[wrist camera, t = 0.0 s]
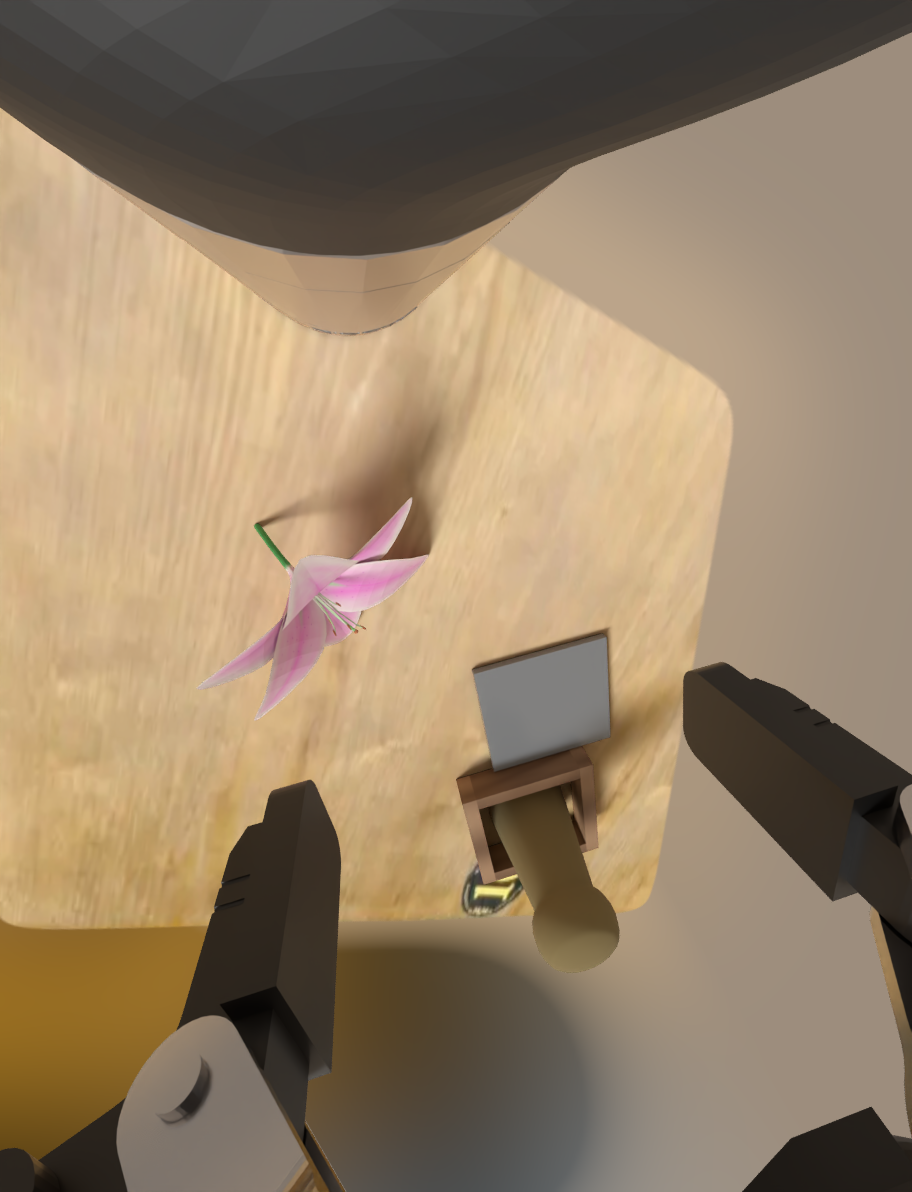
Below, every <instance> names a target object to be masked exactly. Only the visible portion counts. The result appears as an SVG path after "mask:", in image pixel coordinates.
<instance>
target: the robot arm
mask: <svg viewBox="0 0 912 1192" xmlns="http://www.w3.org/2000/svg"><path fill="white" fill-rule="evenodd" d="M911 32H912V0H0V108H2V109H3V110H4V111H6V112H7V113H9V114H10V115H11V116H13V117H14V118H15V119H17V120H18V121H19V122H21V123H22V124H24V125H25V126H26V127H28V128H29V129H30V130H32V131H33V132H35V133H36V134H37V135H39V136H40V137H41V138H43V139H44V140H46V141H47V142H49V143H50V144H52V145H53V146H55V147H56V148H58V149H59V150H61V151H62V152H64V153H65V154H67V155H68V156H70V157H71V158H72V159H74V160H75V161H76V162H78V163H79V164H80V165H81V166H83V167H84V168H85V169H87V170H88V171H89V172H91V173H92V174H93V175H95V176H96V177H97V178H99V179H100V180H101V181H103V182H104V183H106V184H107V185H108V186H110V187H111V188H112V189H114V190H115V191H116V192H118V193H119V194H121V195H122V196H123V197H125V198H126V199H127V200H129V201H130V202H131V203H133V204H134V205H135V206H137V207H138V208H140V209H141V210H142V211H144V212H145V213H146V214H148V215H149V216H150V217H152V218H153V219H155V220H156V221H157V222H159V223H160V224H161V225H163V226H164V227H165V228H167V229H168V230H170V231H171V232H172V233H174V234H175V235H176V236H178V237H179V238H181V239H182V240H184V241H186V242H187V243H188V244H190V245H191V246H192V247H194V248H195V249H196V250H198V251H199V252H200V253H202V254H203V255H204V256H206V257H207V258H208V259H210V260H211V261H213V262H214V263H215V264H217V265H218V266H219V267H221V268H222V269H223V270H225V271H226V272H227V273H229V274H230V275H231V276H233V277H234V278H235V279H237V280H238V281H239V282H241V283H242V284H243V285H245V286H246V287H247V288H249V289H250V290H251V291H253V292H254V293H255V294H257V295H258V296H259V297H260V298H262V299H263V300H264V301H266V302H267V303H269V304H270V305H271V306H273V307H274V308H275V309H277V310H278V311H280V312H282V313H283V314H285V315H286V316H288V317H289V318H291V319H292V320H294V321H296V322H297V323H299V324H301V325H304V326H306V327H309V328H311V329H313V330H316V331H319V332H322V333H328V334H335V335H341V336H351V335H363V334H369V333H372V332H375V331H379V330H381V329H384V328H387V327H389V326H391V325H393V324H395V323H396V322H398V321H400V320H402V319H403V318H404V317H406V316H407V315H408V314H410V313H411V312H412V311H414V310H415V309H416V308H417V306H418V305H419V304H420V303H421V302H422V301H423V300H424V299H425V298H427V297H428V296H429V295H430V294H431V293H432V292H433V291H434V290H435V289H437V288H438V287H439V286H440V285H441V284H442V283H443V282H444V281H445V280H446V279H448V278H449V277H450V276H451V275H452V274H453V273H454V272H455V271H456V270H458V269H459V268H460V267H461V266H462V265H463V264H464V263H465V262H466V261H468V260H469V259H470V258H471V257H472V256H473V255H474V254H475V253H476V252H478V251H479V250H480V249H481V248H482V247H483V246H484V245H485V244H486V243H488V242H489V241H490V240H491V239H492V238H493V237H494V236H495V235H496V234H497V233H499V232H500V231H501V230H502V229H503V228H504V227H505V226H506V225H507V224H509V223H510V221H511V220H512V219H513V218H515V216H517V215H518V214H519V213H520V212H521V211H522V210H523V209H524V208H526V207H527V206H528V205H529V204H530V203H531V202H532V201H533V200H534V199H535V198H537V197H538V196H539V195H540V194H541V193H542V192H543V191H544V190H545V189H547V188H548V187H549V186H550V185H551V184H552V183H553V182H554V181H555V180H557V179H558V178H559V177H560V176H561V175H562V174H563V173H564V172H566V171H567V170H568V169H569V168H571V167H573V166H575V165H578V164H580V163H583V162H585V161H588V160H591V159H593V158H596V157H598V156H601V155H604V154H607V153H610V152H612V151H615V150H618V149H621V148H624V147H626V146H629V145H632V144H635V143H638V142H641V141H644V140H646V139H649V138H652V137H655V136H658V135H661V134H663V133H666V132H669V131H672V130H674V129H678V128H680V127H683V126H686V125H689V124H692V123H695V122H697V121H700V120H703V119H705V118H708V117H710V116H713V115H716V114H718V113H721V112H724V111H726V110H729V109H732V108H734V107H737V106H740V105H742V104H745V103H747V102H750V101H753V100H755V99H758V98H761V97H763V96H766V95H768V94H771V93H773V92H775V91H778V90H780V89H783V88H785V87H788V86H790V85H792V84H795V83H797V82H800V81H802V80H804V79H807V78H809V77H812V76H814V75H817V74H819V73H821V72H823V71H826V70H828V69H831V68H833V67H835V66H838V65H840V64H843V63H845V62H847V61H850V60H852V59H854V58H856V57H858V56H861V55H863V54H865V53H867V52H869V51H872V50H874V49H876V48H878V47H880V46H882V45H885V44H887V43H889V42H891V41H893V40H895V39H898V38H900V37H902V36H904V35H906V34H909V33H911ZM683 730H684V734H685V737H686V740H687V743H688V745H689V747H690V749H691V750H692V752H693V753H694V755H695V756H696V757H697V758H698V759H699V760H700V761H701V763H702V764H703V765H704V766H705V767H706V768H707V769H708V770H709V771H710V772H711V773H712V774H713V775H714V776H715V777H716V778H717V779H718V781H719V782H720V783H721V784H722V785H723V786H724V787H725V788H726V789H727V790H728V791H729V792H730V793H731V794H732V795H733V796H734V797H735V798H736V800H737V801H738V802H739V803H740V804H741V805H742V806H743V807H744V808H745V809H746V810H747V811H748V812H749V813H750V814H751V815H752V817H753V818H754V819H755V820H756V821H757V822H758V823H759V824H760V825H761V826H762V827H763V828H764V829H765V830H766V831H767V832H768V833H769V835H770V836H771V837H772V838H773V839H774V840H775V841H776V842H777V843H778V844H779V845H780V846H781V847H782V848H783V849H784V850H785V851H786V853H787V854H788V855H789V856H790V857H792V859H793V860H794V861H795V862H796V863H797V864H798V865H799V866H800V867H801V868H802V870H803V871H804V872H805V873H806V874H807V875H808V876H809V877H810V878H811V879H812V880H813V881H814V882H815V883H816V884H817V885H818V886H819V887H820V889H821V890H822V891H823V892H824V893H826V895H827V896H828V897H829V898H830V899H831V900H832V901H835V900H838V899H841V898H843V897H847V896H849V895H852V894H855V893H859V894H860V895H861V896H862V897H863V898H864V899H865V900H866V901H867V902H868V903H869V904H870V905H871V907H870V914H869V915H870V922H871V926H872V930H873V934H874V937H875V941H876V945H877V949H878V953H879V957H880V961H881V965H882V969H883V973H884V976H885V981H886V985H887V989H888V993H889V997H890V1000H891V1004H892V1008H893V1012H894V1016H895V1020H896V1024H897V1028H898V1032H899V1036H900V1040H901V1044H902V1050H903V1056H904V1066H905V1067H904V1069H905V1073H904V1074H905V1075H904V1091H905V1102H906V1111H907V1117H908V1123H909V1128H910V1133H911V1137H912V775H911V774H910V773H908V772H907V771H905V770H904V769H902V768H901V767H899V766H898V765H896V764H895V763H893V762H892V761H891V760H889V759H887V758H886V757H885V756H883V755H881V754H880V753H879V752H877V751H876V750H874V749H873V748H871V747H870V746H868V745H867V744H865V743H864V742H862V741H861V740H859V739H858V738H856V737H855V736H854V735H852V734H851V733H849V732H848V731H846V730H845V729H843V728H842V727H840V726H838V725H837V724H836V723H833V724H832V723H831V722H830V719H828V718H827V717H825V716H824V715H823V714H821V713H820V712H818V711H817V710H815V709H810V707H809V705H808V704H806V703H805V702H803V701H802V700H800V699H799V698H797V697H796V696H794V695H793V694H791V693H790V692H788V691H787V690H786V689H783V688H781V687H778V686H775V685H772V684H770V683H767V682H765V681H762V680H759V679H757V678H755V679H751V680H750V679H749V678H747V677H746V676H744V675H743V674H742V673H740V672H739V671H737V670H736V669H735V668H733V667H732V666H730V665H729V664H727V663H724V662H719V663H716V664H712V665H709V666H705V667H702V668H698V669H695V670H691V671H688V672H687V673H686V674H685V676H684V680H683ZM340 874H341V855H340V847H339V842H338V838H337V834H336V831H335V829H334V826H333V824H332V822H331V820H330V817H329V815H328V813H327V810H326V808H325V806H324V804H323V801H322V799H321V797H320V794H319V792H318V790H317V788H316V785H315V784H314V782H313V781H312V780H307V781H303V782H300V783H297V784H293V785H290V786H286V787H283V788H279V789H276V790H273V791H272V792H271V793H270V795H269V798H268V802H267V806H266V811H265V815H264V819H263V822H262V823H258V824H255V825H252V826H248V827H247V829H246V830H245V832H244V833H243V835H242V836H241V838H240V839H239V841H238V842H237V844H236V845H235V847H234V848H233V850H232V851H231V853H230V855H229V858H228V861H227V865H226V868H225V872H224V875H223V878H222V882H221V883H222V888H220V889H219V892H218V895H217V899H216V902H215V906H214V909H215V912H214V913H213V914H212V916H211V919H210V923H209V926H208V929H207V933H206V936H205V940H204V943H203V946H202V950H201V953H200V957H199V960H198V963H197V967H196V970H195V974H194V977H193V981H192V984H191V987H190V991H189V994H188V998H187V1001H186V1004H185V1008H184V1011H183V1014H182V1017H181V1020H180V1023H179V1026H178V1028H177V1030H176V1032H174V1033H173V1034H172V1035H170V1036H169V1037H168V1038H167V1039H166V1040H165V1041H164V1042H163V1043H162V1044H161V1045H160V1046H159V1047H158V1048H157V1049H156V1050H155V1051H154V1053H153V1054H152V1055H151V1056H150V1058H149V1059H148V1060H147V1062H146V1063H145V1064H144V1066H143V1067H142V1069H141V1071H140V1072H139V1073H138V1075H137V1077H136V1078H135V1080H134V1082H133V1084H132V1086H131V1088H130V1090H129V1092H128V1095H127V1097H126V1098H125V1099H124V1100H122V1101H121V1102H120V1103H119V1104H117V1105H116V1106H115V1107H114V1108H112V1109H111V1110H109V1111H108V1112H107V1113H105V1114H104V1115H102V1116H101V1117H100V1118H98V1119H97V1120H95V1121H94V1122H92V1123H91V1124H90V1125H88V1126H87V1127H85V1128H84V1129H82V1130H81V1131H80V1132H78V1133H77V1134H76V1135H74V1136H73V1137H71V1138H70V1139H68V1140H67V1141H65V1142H64V1143H63V1144H61V1145H60V1146H58V1147H57V1148H56V1149H54V1150H53V1151H51V1152H50V1153H48V1154H47V1155H46V1156H44V1157H43V1158H41V1159H40V1160H37V1159H35V1158H34V1157H32V1156H31V1155H30V1154H28V1153H27V1152H25V1151H24V1150H21V1149H18V1148H11V1149H4V1150H1V1151H0V1192H346V1191H345V1189H344V1187H343V1186H342V1184H341V1182H340V1180H339V1179H338V1177H337V1175H336V1173H335V1172H334V1170H333V1168H332V1166H331V1165H330V1163H329V1161H328V1159H327V1158H326V1156H325V1154H324V1152H323V1151H322V1149H321V1147H320V1145H319V1144H318V1142H317V1140H316V1138H315V1137H314V1135H313V1133H312V1131H311V1130H310V1128H309V1126H308V1124H307V1122H306V1121H305V1112H306V1099H307V1086H308V1080H311V1079H314V1078H317V1077H320V1076H323V1075H325V1074H328V1073H331V1069H332V1046H333V1026H334V1004H335V982H336V981H335V980H336V960H337V939H338V917H339V896H340ZM742 1192H912V1139H911V1138H906V1137H900V1136H895V1135H892V1134H891V1133H890V1132H889V1130H888V1129H887V1128H886V1126H885V1125H884V1123H883V1122H882V1121H881V1119H880V1118H879V1117H878V1115H877V1114H876V1113H875V1111H874V1110H873V1108H872V1107H869V1108H867V1109H864V1110H862V1111H859V1112H857V1113H854V1114H852V1115H849V1116H846V1117H844V1118H842V1119H839V1120H836V1121H834V1122H832V1123H829V1124H826V1125H824V1126H821V1127H819V1128H816V1129H814V1130H811V1131H809V1132H806V1133H804V1134H801V1135H798V1136H796V1137H793V1138H791V1139H790V1140H789V1141H788V1142H787V1143H786V1144H785V1145H784V1147H783V1148H782V1149H781V1150H780V1151H779V1152H778V1153H777V1154H776V1155H775V1156H774V1158H773V1159H772V1160H771V1161H770V1162H769V1163H768V1164H767V1165H766V1166H765V1167H764V1169H763V1170H762V1171H761V1172H760V1173H759V1174H758V1175H757V1176H756V1177H755V1178H754V1179H753V1181H752V1182H751V1183H750V1184H749V1185H748V1186H747V1187H746V1188H745V1189H744V1190H743V1191H742Z"/></svg>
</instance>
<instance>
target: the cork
mask: <svg viewBox="0 0 912 1192" xmlns="http://www.w3.org/2000/svg"><path fill="white" fill-rule="evenodd" d="M489 814H490V817H491V820H492V822H493V824H494V826H495V828H496V830H497V832H498V834H499V837H500V839H501V841H502V843H503V845H504V847H505V849H506V851H507V853H508V856H509V858H510V860H511V862H512V864H513V866H514V868H515V870H516V873H517V875H518V877H519V879H520V881H521V883H522V885H523V887H524V889H525V892H526V894H527V896H528V898H529V900H530V902H531V904H532V906H533V908H534V911H535V912H534V916H533V921H532V925H533V934H534V938H535V941H536V944H537V947H538V950H539V952H540V953H541V955H542V957H543V959H544V960H545V961H546V962H547V963H548V964H549V965H550V966H551V967H553V968H554V969H555V970H557V971H562V972H566V973H577V972H582V971H586V970H589V969H591V968H594V967H596V966H597V965H599V964H601V963H602V962H604V961H605V960H606V959H607V958H609V957H610V955H611V954H612V953H613V951H614V950H615V949H616V947H617V944H618V942H619V926H618V921H617V917H616V913H615V911H614V909H613V907H612V905H611V903H610V902H609V901H608V900H607V898H606V897H605V896H604V895H603V894H602V893H601V892H600V891H599V890H598V889H596V888H595V887H593V885H592V882H591V879H590V876H589V873H588V870H587V867H586V864H585V860H584V857H583V854H582V851H581V848H580V845H579V842H578V839H577V836H576V833H575V830H574V827H573V824H572V820H571V817H570V814H569V811H568V808H567V805H566V802H565V799H564V796H563V793H562V790H561V787H560V785H558V786H554V787H551V788H548V789H544V790H541V791H538V792H535V793H531V794H528V795H525V796H522V797H518V798H515V799H512V800H509V801H505V802H502V803H499V804H495V805H492V806H490V807H489Z"/></svg>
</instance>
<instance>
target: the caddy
mask: <svg viewBox="0 0 912 1192" xmlns="http://www.w3.org/2000/svg"><path fill="white" fill-rule="evenodd" d="M456 781H457V785H458V789H459V793H460V797H461V801H462V805H463V808H464V812H465V816H466V820H467V823H468V827H469V831H470V834H471V838H472V842H473V846H474V849H475V853H476V857H477V860H478V864H479V868H480V871H481V875H482V879H483V883H484V884H487V883H490V882H493V881H497V880H500V879H503V878H506V877H509V876H512V875H515V874H517V873H516V870H515V868H514V866H513V864H512V862H511V860H510V858H509V856H508V853H507V851H506V849H505V847H504V845H503V843H500V844H497V845H493V846H490V847H488V845H487V841H486V837H485V833H484V829H483V825H482V821H481V817H480V813H479V809H482V808H486V807H489V806H492V805H495V804H499V803H502V802H505V801H509V800H512V799H515V798H518V797H522V796H525V795H528V794H531V793H535V792H538V791H541V790H544V789H548V788H551V787H554V786H558V785H561V784H564V783H567V782H571V790H572V800H573V810H574V820H573V821H572V824H573V827H574V830H575V833H576V836H577V839H578V842H579V845H580V848H581V851H582V853H584V852H587V851H590V850H593V849H596V848H599V847H598V832H597V817H596V801H595V786H594V771H593V764H592V762H591V760H590V759H589V757H588V755H587V754H586V752H585V750H584V749H583V747H582V746H579V747H576V748H572V749H569V750H566V751H562V752H559V753H556V754H552V755H549V756H546V757H542V758H539V759H536V760H532V761H529V762H526V763H522V764H519V765H516V766H512V767H509V768H506V769H502V770H499V771H496V772H494V770H493V769H490V770H486V771H483V772H480V773H476V774H473V775H470V776H466V777H463V778H460V779H456Z"/></svg>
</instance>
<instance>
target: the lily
mask: <svg viewBox="0 0 912 1192" xmlns="http://www.w3.org/2000/svg"><path fill="white" fill-rule="evenodd" d="M411 504H412V497H411V498H410V499H408V500H407V501H406V502H405V504H404V505H403V506H402V507H401V508H400V509H399V510H398V511H397V512H396V513H395V514H394V516H393V517H392V518H391V519H390V520H389V521H388V522H387V523H386V524H385V525H384V526H383V527H382V528H381V529H380V530H379V531H378V532H377V533H376V534H375V535H374V536H373V537H372V538H371V539H370V540H369V541H368V542H367V543H366V544H365V545H364V546H363V547H362V548H361V549H360V550H359V551H358V552H357V553H356V554H355V555H353V556H352V557H351V558H350V559H343V558H338V557H332V556H326V555H310V556H307V557H305V558H302V559H300V561H299V562H298V564H297V565H296V567H295V568H294V567H292V565H291V564H290V563H289V562H288V561H287V560H286V558H285V557H284V556H283V555H282V554H281V552H280V551H279V550H278V549H277V547H276V546H275V545H274V543H273V542H272V541H271V539H270V538H269V537H268V535H267V534H266V532H265V531H264V530H263V528H262V527H261V526H260V524H258V523H257V524H255V525H254V527H255V529H256V530H257V532H258V533H259V534H260V536H261V537H262V539H263V540H264V541H265V543H266V544H267V546H268V547H269V548H270V550H271V551H272V552H273V554H274V555H275V556H276V557H277V559H278V560H279V561H280V562H281V564H282V565H283V566H284V568H285V569H286V570H287V572H288V574H289V576H290V582H291V586H290V592H289V597H288V601H287V604H286V608H285V611H284V613H283V616H282V618H281V620H280V621H279V622H278V623H277V624H276V625H275V626H274V627H273V628H272V629H271V630H269V631H268V632H267V633H266V634H265V635H263V636H262V637H261V638H260V639H259V640H257V641H256V642H255V643H254V644H252V645H251V646H250V647H248V648H247V649H246V650H245V651H243V652H242V653H241V654H240V655H238V656H237V657H236V658H234V659H233V660H232V661H230V662H229V663H228V664H226V665H225V666H224V667H223V668H221V669H220V670H219V671H217V672H216V673H215V674H213V675H212V676H210V677H209V678H208V679H206V680H205V681H204V682H202V683H201V684H200V685H199V686H198V687H197V688H196V689H201V690H202V689H206V688H211V687H215V686H218V685H221V684H224V683H227V682H230V681H233V680H235V679H237V678H240V677H242V676H245V675H247V674H249V673H251V672H253V671H255V670H257V669H259V668H260V667H262V666H264V665H265V664H266V663H268V662H269V661H270V660H271V659H272V658H273V657H274V658H273V663H272V668H271V673H270V678H269V683H268V686H267V690H266V694H265V697H264V699H263V701H262V704H261V706H260V708H259V710H258V712H257V714H256V717H255V720H258V719H259V718H261V717H262V716H264V715H265V714H266V713H267V712H269V711H270V710H271V709H272V708H274V707H275V706H276V705H277V704H278V703H279V702H280V701H282V700H283V699H284V698H285V697H286V696H287V695H288V694H289V693H290V692H291V691H292V690H293V689H294V688H295V687H296V686H297V685H298V684H299V683H300V682H301V681H302V680H303V679H304V678H305V677H306V676H307V674H308V673H309V672H310V671H311V669H312V668H313V667H314V666H315V664H316V663H317V661H318V659H319V657H320V655H321V653H322V651H323V649H324V646H330V645H334V644H337V643H339V642H341V641H343V640H344V639H346V638H347V636H348V635H349V634H351V632H352V631H354V633H358V630H356V629H354V628H355V626H356V625H357V626H359V625H358V624H357V622H358V620H359V617H360V615H361V611H362V610H366V609H369V608H371V607H373V606H375V605H378V604H380V603H381V602H382V601H384V600H385V599H387V598H388V597H390V596H391V595H392V594H393V593H395V592H396V591H397V590H398V589H399V588H400V587H401V586H402V585H404V584H405V583H406V582H407V581H408V580H409V579H410V578H411V577H412V576H413V575H414V574H415V573H416V572H417V571H418V569H419V568H420V567H421V566H422V565H423V564H424V562H425V561H426V559H427V558H428V556H429V555H423V556H419V557H415V558H410V559H396V560H384V561H379V560H380V559H381V558H382V557H383V556H384V555H385V554H386V553H387V552H388V551H389V549H390V548H391V546H392V545H393V543H394V542H395V540H396V538H397V536H398V534H399V532H400V530H401V528H402V527H403V524H404V522H405V520H406V518H407V515H408V513H409V510H410V507H411ZM359 627H360V628H363V629H366V628H365V627H363V626H361V625H360V626H359Z"/></svg>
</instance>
